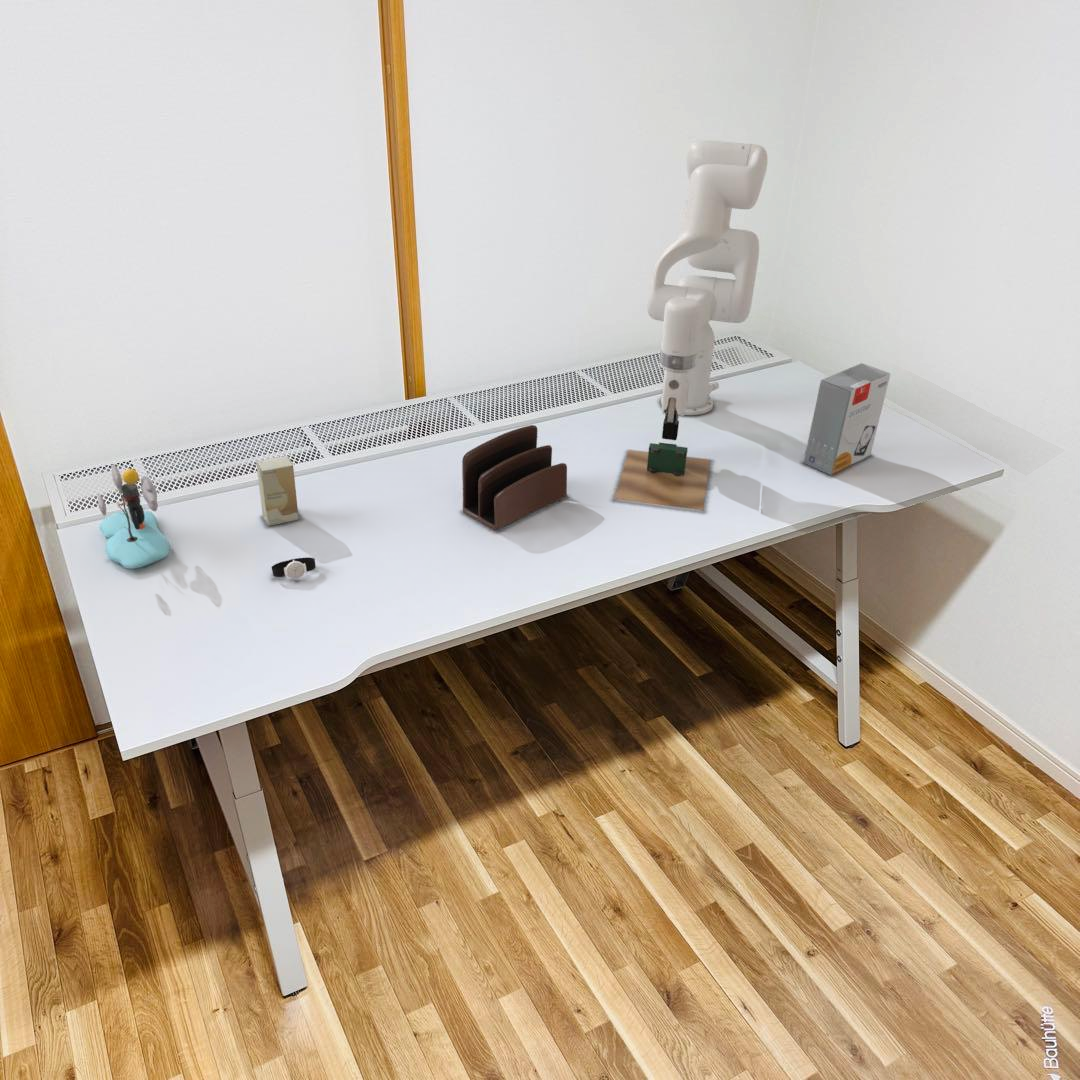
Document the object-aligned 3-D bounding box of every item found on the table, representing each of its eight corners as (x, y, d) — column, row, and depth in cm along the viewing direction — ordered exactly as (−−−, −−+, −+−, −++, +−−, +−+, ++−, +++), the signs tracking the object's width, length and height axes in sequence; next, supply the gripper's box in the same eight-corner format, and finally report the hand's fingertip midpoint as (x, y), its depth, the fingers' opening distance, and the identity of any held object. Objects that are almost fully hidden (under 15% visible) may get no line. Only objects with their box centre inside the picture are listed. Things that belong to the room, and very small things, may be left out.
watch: (275, 585, 174) (272, 568, 172) (270, 570, 177) (267, 554, 175) (318, 575, 176) (316, 559, 175) (313, 562, 180) (311, 545, 178)
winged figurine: (98, 524, 189) (80, 454, 181) (156, 511, 193) (141, 443, 185) (113, 579, 174) (94, 505, 166) (175, 564, 178) (160, 491, 170)
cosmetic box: (268, 527, 190) (259, 471, 183) (262, 516, 193) (253, 461, 186) (300, 519, 192) (293, 464, 185) (294, 508, 195) (287, 454, 189)
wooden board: (628, 451, 219) (628, 449, 219) (710, 461, 216) (710, 459, 216) (614, 500, 201) (614, 498, 201) (702, 512, 198) (702, 510, 198)
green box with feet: (646, 472, 210) (648, 449, 207) (648, 463, 214) (650, 440, 211) (683, 477, 209) (686, 453, 206) (685, 467, 213) (688, 444, 210)
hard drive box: (831, 476, 212) (849, 391, 201) (802, 463, 216) (818, 379, 205) (872, 455, 220) (891, 372, 209) (843, 442, 225) (860, 361, 214)
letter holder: (461, 512, 196) (460, 449, 188) (533, 479, 208) (534, 418, 200) (495, 532, 190) (495, 468, 182) (567, 497, 202) (570, 435, 194)
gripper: (693, 374, 198) (683, 455, 208) (699, 347, 210) (689, 425, 220) (656, 370, 199) (648, 451, 209) (663, 343, 211) (656, 421, 221)
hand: (669, 437), depth 214 cm, fingers closed
